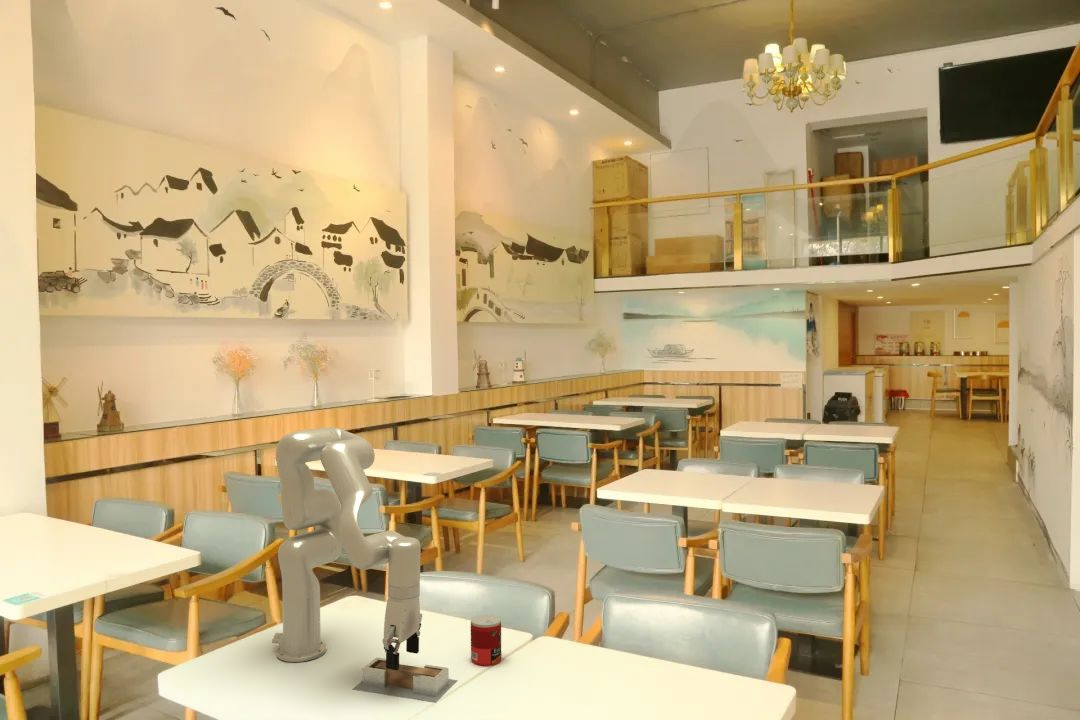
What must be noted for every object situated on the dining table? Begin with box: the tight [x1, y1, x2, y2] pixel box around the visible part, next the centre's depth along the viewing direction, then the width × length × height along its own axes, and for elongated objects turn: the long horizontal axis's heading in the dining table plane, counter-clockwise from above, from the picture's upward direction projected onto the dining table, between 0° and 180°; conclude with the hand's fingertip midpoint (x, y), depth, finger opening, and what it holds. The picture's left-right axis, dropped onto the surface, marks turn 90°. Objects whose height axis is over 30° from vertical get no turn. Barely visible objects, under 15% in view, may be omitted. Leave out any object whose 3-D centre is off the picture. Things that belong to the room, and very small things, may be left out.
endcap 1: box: [361, 657, 387, 688], centre depth 180 cm, size 6×7×4 cm
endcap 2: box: [413, 664, 450, 697], centre depth 176 cm, size 6×7×4 cm
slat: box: [375, 662, 441, 689], centre depth 178 cm, size 16×3×4 cm, turn 71°
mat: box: [352, 678, 458, 704], centre depth 178 cm, size 22×12×1 cm, turn 71°
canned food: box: [470, 614, 502, 667], centre depth 192 cm, size 8×8×11 cm
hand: (402, 660), depth 178 cm, fingers open, 9 cm apart
